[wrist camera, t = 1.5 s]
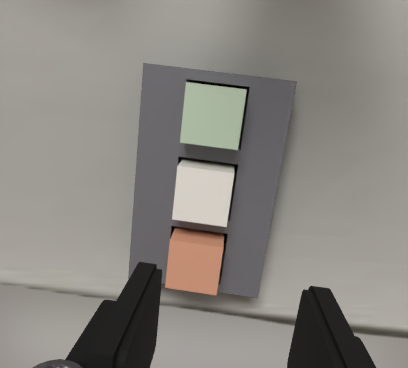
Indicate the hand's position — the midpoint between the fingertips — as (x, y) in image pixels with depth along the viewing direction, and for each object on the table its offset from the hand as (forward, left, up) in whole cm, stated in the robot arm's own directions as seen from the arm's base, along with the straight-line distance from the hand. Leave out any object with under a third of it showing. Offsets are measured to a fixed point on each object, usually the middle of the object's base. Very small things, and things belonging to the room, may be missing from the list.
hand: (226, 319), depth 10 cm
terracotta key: (-3, +7, -20) cm, 21 cm away
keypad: (+1, +2, -21) cm, 21 cm away
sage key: (+5, -3, -20) cm, 20 cm away
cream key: (+1, +2, -20) cm, 20 cm away
